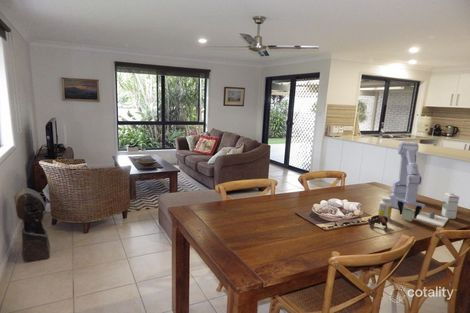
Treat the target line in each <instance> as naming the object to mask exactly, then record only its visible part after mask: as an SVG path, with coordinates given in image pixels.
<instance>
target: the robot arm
mask: <svg viewBox="0 0 470 313" xmlns="http://www.w3.org/2000/svg"><path fill="white" fill-rule="evenodd" d="M418 151H419V143H418V142H406V141H405V142H403V141H400V142H399V144H398V153H397V154H398V155H400V161H399V172H398V179H397V180H395V181H393V183H392V186H391V193H389V194H390V195H389V196H388V197H389V198H391V201H390V202H391V203H392V209H393V208H394V209H398V210H399V215H400V216H402V213H403V209H404V208H408V207H407V206H406V205H409V206H412V207H413V206H414V207H415V209H414V210H415V212H414V218H413V219H414V220H415V219H416V217H417V215H418V214H419V213H420V212H421V211H422V210H423V209H425V205H426V204H424V203H420V202H418V201H417V198H418V192H419V187H420V185H421V184H422V175H421V173H420V171H419V165H418V164H417V163H416V164H415V154H416V155H417V154H418ZM407 174H408V176H407ZM399 184H401V185H399Z"/></svg>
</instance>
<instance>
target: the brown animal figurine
mask: <svg viewBox="0 0 470 313" xmlns="http://www.w3.org/2000/svg"><path fill="white" fill-rule="evenodd" d="M367 221H368V222H367V224H368V225H369V226H373V227H374V226H375V223H376V225H381V226H383V230H384V233H386V232H388V231H389V227H388V222H389V220H388V218H387V217H386V216H382V217H381V215H378V214H376V215H373V216H371V217H370V218H368V219H367Z"/></svg>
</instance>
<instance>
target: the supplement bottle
mask: <svg viewBox="0 0 470 313" xmlns="http://www.w3.org/2000/svg"><path fill="white" fill-rule="evenodd" d="M389 197H390V196H382V198H381V200H380V202H379V205H378V213H377V215H381V217H382V216H386V217H387V218H388V221H390V220H391V217H392V209H393V207H392V203H391V202H390V201H391V198H389Z"/></svg>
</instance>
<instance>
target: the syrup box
mask: <svg viewBox="0 0 470 313" xmlns="http://www.w3.org/2000/svg"><path fill="white" fill-rule="evenodd" d="M459 200H460V195H457V194H455V193H452V192H445V193H444V195H443V202H442V207H441V213H440V214H441V215H440V216H442V217H446V218H448V219H452V220H453V219H455V220H456V218H457V217H456V216H457V213H458V206H459Z"/></svg>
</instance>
